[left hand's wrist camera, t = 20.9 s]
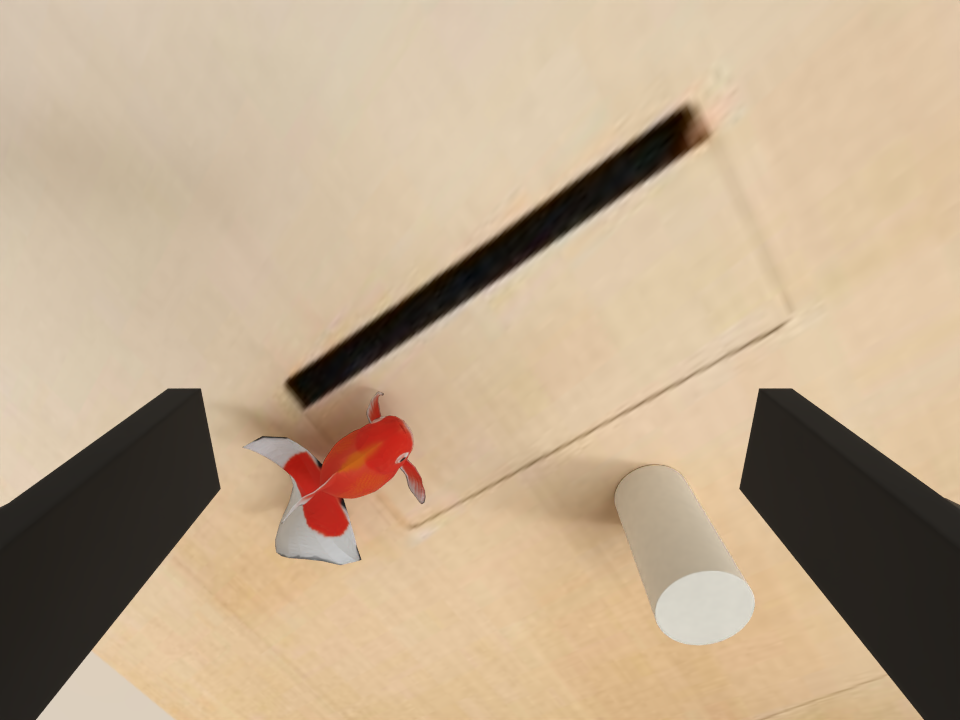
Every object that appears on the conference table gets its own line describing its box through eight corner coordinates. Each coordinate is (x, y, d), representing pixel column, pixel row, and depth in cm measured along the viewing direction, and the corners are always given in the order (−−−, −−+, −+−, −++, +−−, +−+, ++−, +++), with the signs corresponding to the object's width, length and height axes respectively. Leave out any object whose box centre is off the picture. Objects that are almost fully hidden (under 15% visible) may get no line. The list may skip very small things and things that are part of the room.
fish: (492, 519, 36) (393, 606, 28) (347, 535, 45) (240, 605, 37) (438, 370, 36) (323, 414, 28) (303, 417, 45) (186, 460, 37)
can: (663, 451, 39) (723, 554, 29) (703, 501, 41) (772, 615, 31) (599, 491, 41) (635, 602, 31) (640, 538, 42) (687, 659, 32)
